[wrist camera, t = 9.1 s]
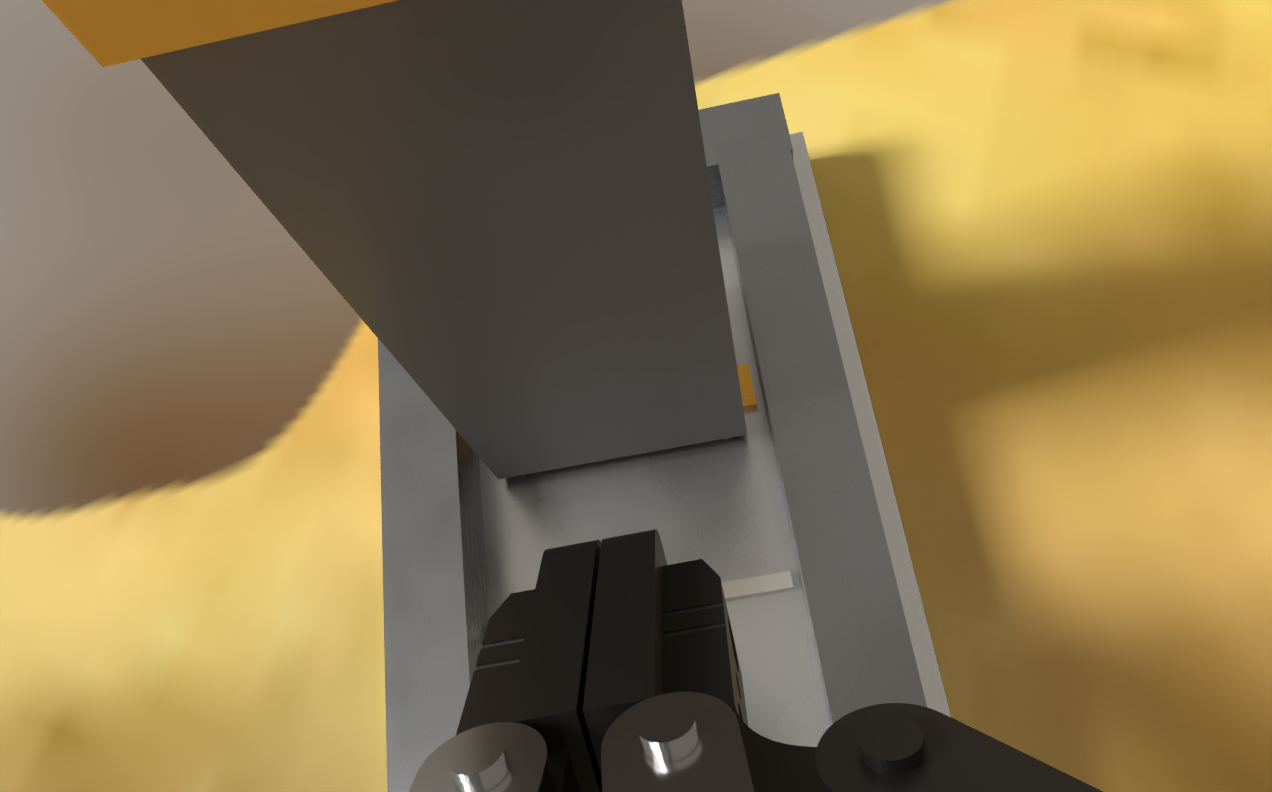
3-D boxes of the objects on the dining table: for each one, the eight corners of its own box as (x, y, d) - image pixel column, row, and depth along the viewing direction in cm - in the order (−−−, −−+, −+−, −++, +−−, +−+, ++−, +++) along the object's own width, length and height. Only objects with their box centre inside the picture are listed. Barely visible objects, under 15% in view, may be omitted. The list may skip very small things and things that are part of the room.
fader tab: (759, 444, 19) (679, -201, 7) (489, 493, 20) (6, -40, 8) (725, 269, 21) (615, -484, 9) (477, 318, 21) (64, -337, 10)
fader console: (1165, 1607, 13) (1238, 1764, 11) (436, 1660, 14) (364, 1816, 12) (802, 159, 23) (802, 86, 21) (392, 242, 24) (350, 181, 22)
